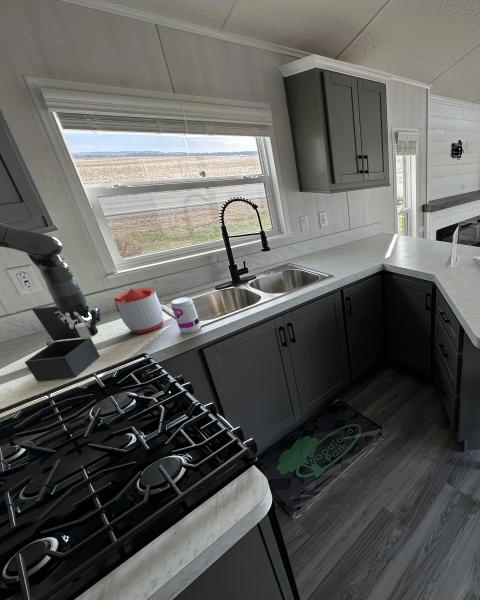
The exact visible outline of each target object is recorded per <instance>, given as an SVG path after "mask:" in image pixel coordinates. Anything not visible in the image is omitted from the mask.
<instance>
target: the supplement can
mask: <svg viewBox="0 0 480 600" xmlns="http://www.w3.org/2000/svg"><path fill="white" fill-rule="evenodd" d="M170 307H171V310H172V313H173V315H174V318H175V320H176V324H177V326H178V329H179V331H180V333H181V334H192V333H195V332H197V331H199V330H200V328H201V327H202V325H201V322H200V318H199V315H198V313H197V310H196V307H195V304H194V301H193V300H192V298H190V296H180V297H177V298H175V299H173V300H172V301H171V305H170ZM196 330H197V331H196ZM194 331H195V332H194ZM190 332H191V333H190Z"/></svg>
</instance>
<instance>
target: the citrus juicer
mask: <svg viewBox="0 0 480 600" xmlns="http://www.w3.org/2000/svg"><path fill="white" fill-rule="evenodd" d="M157 295H158V294H157V293H156V289H155V288H152V287H141V288H130V289H129V290H128V291H124V292H122V293H119V294H117V295H115V296H114V297H113V299H114V306H113V307H112V310H111V313H116V312H117V313H118V314H119V317H120V319H121V320H122V322H123V323H124V325H125V326H126V327H127V328H128V329H129V330H130V331H131V332H132V333H134V334H138V335H141V334H145V333H149V332H152V331H156V330H158V329H159V328H160V327H162V325H163V324H164V314H163V309H162V306H161V303H160V300H159V298H158V296H157Z"/></svg>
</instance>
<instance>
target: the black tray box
mask: <svg viewBox="0 0 480 600" xmlns="http://www.w3.org/2000/svg"><path fill="white" fill-rule="evenodd" d="M100 357H101V355H100V353H99V352H98V349H97V347H96V345H95V343H94V341H93V340H92V337H91V338H88V339H81V338H77V339H67V340H57V341H53V343H52V344H50V345H49V346H45V348H43V349H41V350H40V351H39V352H37V353H36V354H34V355H32V356H31V357H30V358H28V359H26V360H25V361H24V364H25V365H26V366H27V368H28V370H29V371H30V373H31V374H32V376H33V378H34V379H35V380H36V382H46V381H56V380H65V379H72V378H77V377H78V376H79V375H81V374H82V373H83V372H84V371H85V370H86V369H87V368H88V367H89V366H91V365H92V364H93V363H94V362H95V361H96V360H98V359H99V358H100Z"/></svg>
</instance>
